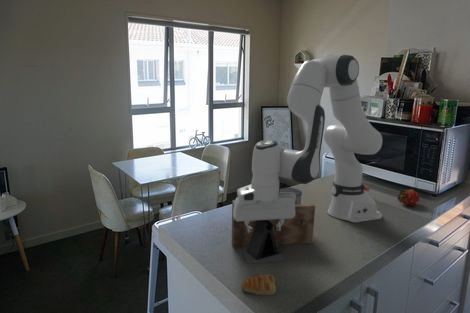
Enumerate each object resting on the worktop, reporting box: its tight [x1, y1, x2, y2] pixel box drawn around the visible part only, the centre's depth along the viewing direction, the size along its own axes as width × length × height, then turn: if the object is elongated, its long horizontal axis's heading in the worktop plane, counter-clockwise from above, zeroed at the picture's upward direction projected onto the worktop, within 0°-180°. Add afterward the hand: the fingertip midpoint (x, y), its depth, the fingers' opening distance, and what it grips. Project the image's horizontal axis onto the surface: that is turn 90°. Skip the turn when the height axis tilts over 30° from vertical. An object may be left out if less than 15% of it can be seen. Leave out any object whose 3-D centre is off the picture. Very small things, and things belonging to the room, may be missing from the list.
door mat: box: [241, 245, 285, 264], centre depth 114 cm, size 12×11×1 cm
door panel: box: [231, 199, 316, 249], centre depth 119 cm, size 29×5×16 cm, turn 99°
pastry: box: [241, 274, 277, 296], centre depth 94 cm, size 9×7×4 cm
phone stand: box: [247, 220, 280, 260], centre depth 112 cm, size 9×6×12 cm, turn 118°
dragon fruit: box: [397, 188, 420, 207], centre depth 161 cm, size 8×8×12 cm
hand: (263, 231), depth 112 cm, fingers open, 8 cm apart
